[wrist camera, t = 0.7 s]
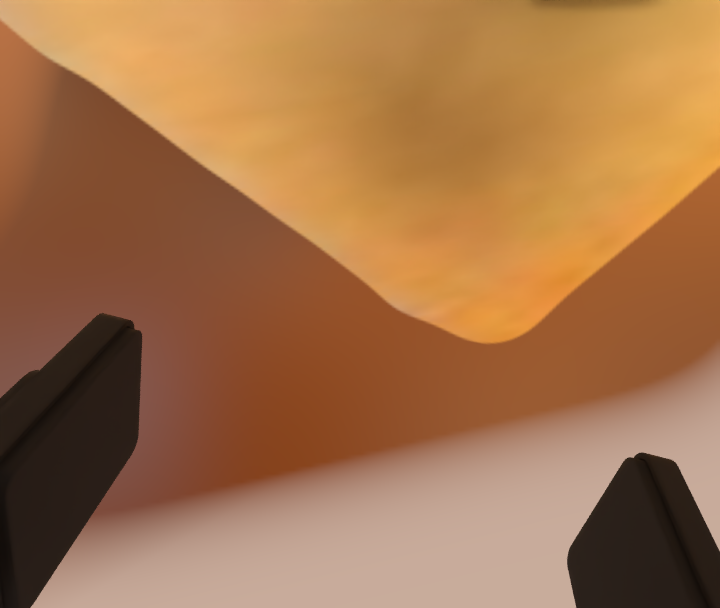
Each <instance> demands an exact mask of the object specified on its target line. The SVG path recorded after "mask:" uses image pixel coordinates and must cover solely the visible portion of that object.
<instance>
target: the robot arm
mask: <svg viewBox="0 0 720 608" xmlns="http://www.w3.org/2000/svg"><path fill="white" fill-rule="evenodd" d="M141 350H142V334H141V332H140V331H138V330H135V329H134V324H133V322H132V321H131V320H127V319H123V318H119V317H115V316H111V315H107V314H104V313H102V314H99V315H97V316H96V317H95V318H94V319H93V320H92V321H91V322H90V323H89V324H88V325H87V326H86V327H85V328H83V329H82V330H81V331H80V333H78V334H77V335H76V336H75V337H74V338H73V339H72V340H71V341H70V342H69V343H68V344H67V345H66V346H65V347H64V348H63V349H62V350H61V351H60V352H58V353H57V354H56V356H54V357H53V358H52V359H51V360H50V361H49V362H48V363H47V364H46V365H45V366H44V367H43V368H42V369H41V370H40V371H39V370H35V371H31V372H29V373H28V374H26V375H25V376H24V377H23V378H22V379H20V381H18V382H17V383H16V384H15V385H14V386H13V387H12V388H11V389H10V390H9V391H8V392H7V393H6V394H4V395H3V396H2V397H1V398H0V608H30V607H31V606H32V605H33V603H34V602H35V600H36V599H37V597H38V596H39V594H40V593H41V591H42V590H43V588H44V587H45V585H46V584H47V582H48V581H49V579H50V578H51V576H52V574H53V573H54V571H55V570H56V569H57V567H58V565H59V564H60V562H61V561H62V559H63V558H64V556H65V555H66V553H67V552H68V550H69V549H70V547H71V546H72V544H73V542H74V541H75V540H76V538H77V536H78V535H79V534H80V532H81V531H82V529H83V528H84V526H85V525H86V523H87V522H88V520H89V518H90V517H91V515H92V514H93V512H94V511H95V509H96V508H97V506H98V505H99V503H100V502H101V500H102V499H103V497H104V496H105V494H106V493H107V491H108V490H109V488H110V487H111V485H112V483H113V482H114V481H115V479H116V477H117V476H118V474H119V473H120V471H121V470H122V468H123V467H124V465H125V464H126V462H127V461H128V459H129V458H130V456H131V455H132V453H133V451H134V449H135V446H136V443H137V440H138V430H139V404H140V403H139V402H140V378H141V353H142V351H141ZM567 565H568V570H569V575H570V579H571V585H572V589H573V594H574V599H575V603H576V608H720V551H719V549H718V547H717V545H716V543H715V541H714V539H713V537H712V535H711V533H710V531H709V529H708V527H707V525H706V523H705V521H704V519H703V517H702V515H701V513H700V510H699V508H698V506H697V504H696V502H695V500H694V498H693V496H692V494H691V492H690V490H689V488H688V486H687V484H686V482H685V480H684V478H683V476H682V474H681V472H680V470H679V467H678V466H677V464H676V463H675V462H674V461H672V460H670V459H666V458H662V457H658V456H654V455H650V454H646V453H638V454H637V455H636V456H635V457H634V458H627V459H625V461H624V462H623V463H622V465H621V467H620V468H619V470H618V471H617V473H616V474H615V476H614V478H613V479H612V481H611V483H610V484H609V486H608V487H607V489H606V490H605V492H604V494H603V495H602V497H601V498H600V500H599V502H598V503H597V505H596V507H595V508H594V510H593V511H592V513H591V515H590V516H589V518H588V519H587V521H586V523H585V524H584V526H583V527H582V529H581V531H580V532H579V534H578V535H577V537H576V539H575V540H574V542H573V543H572V545H571V547H570V549H569V552H568V559H567Z"/></svg>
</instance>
